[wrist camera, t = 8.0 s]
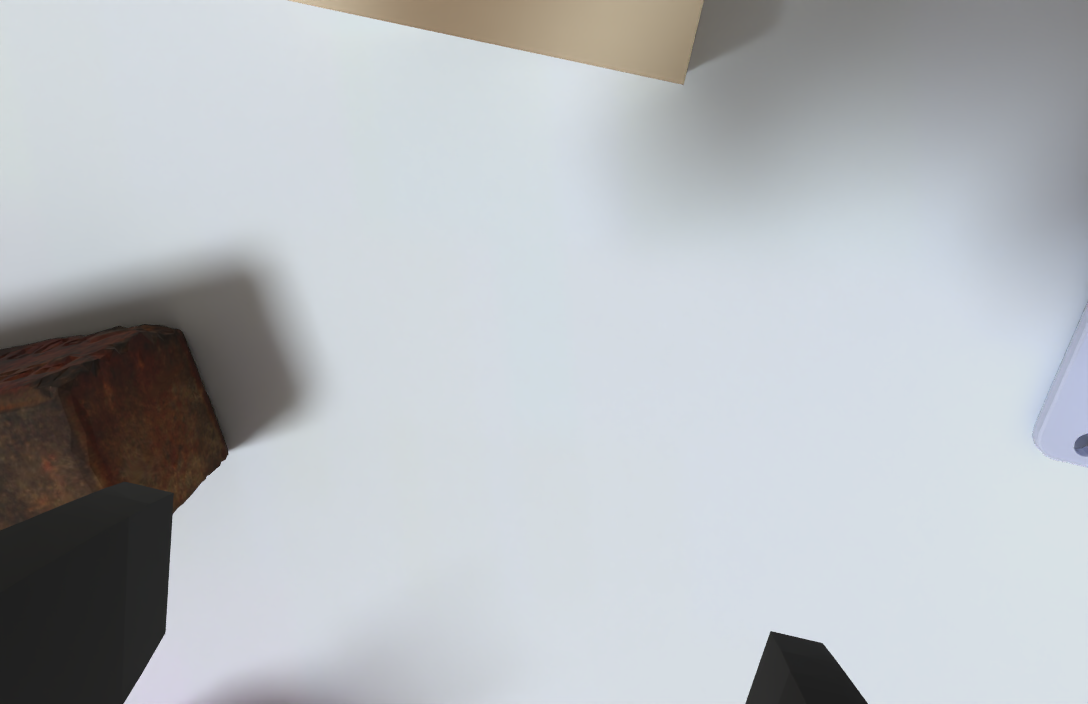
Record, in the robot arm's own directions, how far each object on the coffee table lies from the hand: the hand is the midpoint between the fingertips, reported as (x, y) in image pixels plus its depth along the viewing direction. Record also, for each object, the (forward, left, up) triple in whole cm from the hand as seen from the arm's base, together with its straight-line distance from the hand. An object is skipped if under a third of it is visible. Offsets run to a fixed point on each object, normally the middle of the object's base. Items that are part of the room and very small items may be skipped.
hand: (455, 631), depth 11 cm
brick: (+13, +5, -11) cm, 17 cm away
